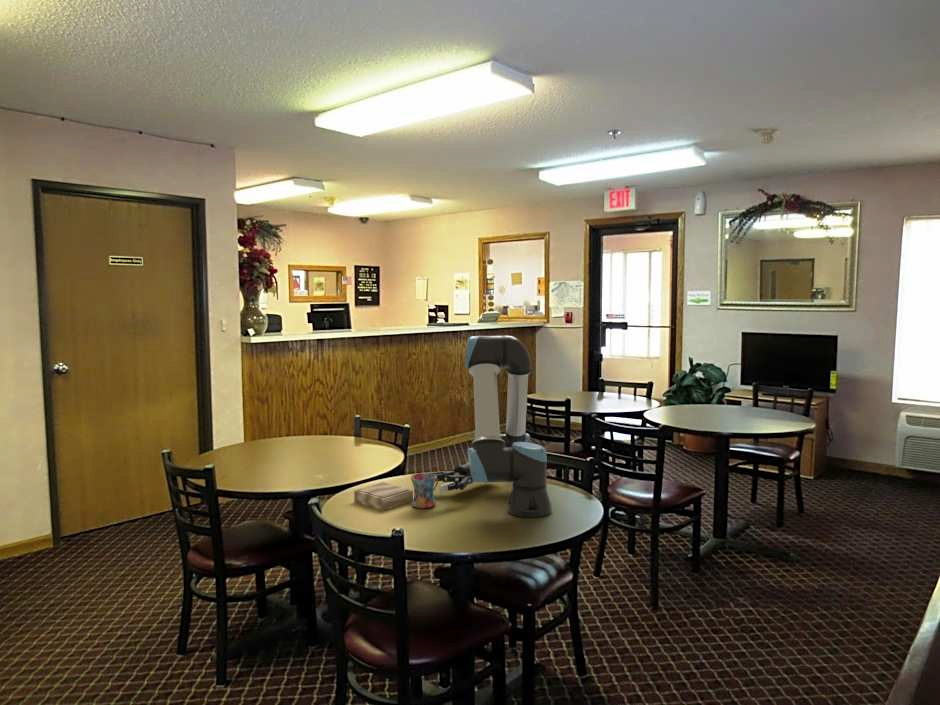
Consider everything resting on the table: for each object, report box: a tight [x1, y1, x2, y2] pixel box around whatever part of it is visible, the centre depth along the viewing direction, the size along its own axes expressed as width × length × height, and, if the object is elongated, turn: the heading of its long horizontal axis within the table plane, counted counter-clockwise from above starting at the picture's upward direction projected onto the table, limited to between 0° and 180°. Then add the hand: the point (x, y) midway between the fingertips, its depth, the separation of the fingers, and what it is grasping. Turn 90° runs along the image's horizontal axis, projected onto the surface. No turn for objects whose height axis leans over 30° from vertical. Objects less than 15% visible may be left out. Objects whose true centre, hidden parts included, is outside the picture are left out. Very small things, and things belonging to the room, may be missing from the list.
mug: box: [409, 472, 439, 509], centre depth 229 cm, size 12×9×11 cm
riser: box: [353, 481, 414, 511], centre depth 234 cm, size 16×14×4 cm
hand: (426, 486), depth 230 cm, fingers open, 13 cm apart
